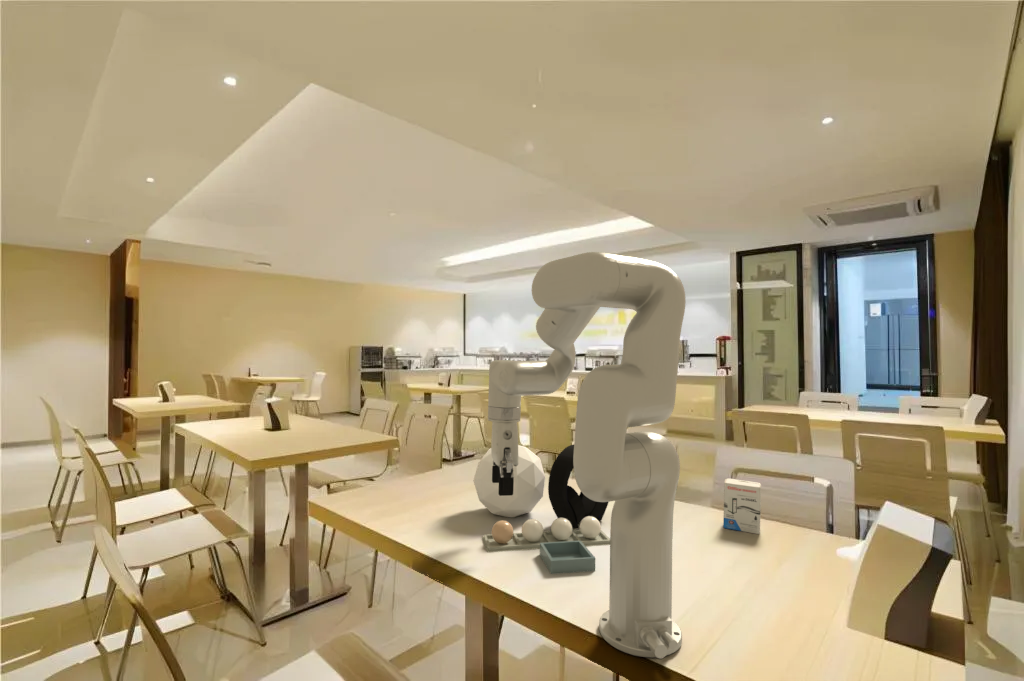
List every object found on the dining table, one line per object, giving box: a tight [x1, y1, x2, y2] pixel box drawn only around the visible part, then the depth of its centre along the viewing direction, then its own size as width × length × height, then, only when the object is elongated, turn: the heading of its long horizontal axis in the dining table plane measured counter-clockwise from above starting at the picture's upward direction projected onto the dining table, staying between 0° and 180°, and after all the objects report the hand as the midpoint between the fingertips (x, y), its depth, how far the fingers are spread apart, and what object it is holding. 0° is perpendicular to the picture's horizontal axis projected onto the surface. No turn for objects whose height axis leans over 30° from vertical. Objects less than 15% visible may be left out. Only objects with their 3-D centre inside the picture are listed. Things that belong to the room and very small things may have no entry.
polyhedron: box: [473, 444, 546, 518], centre depth 134 cm, size 19×20×20 cm
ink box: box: [722, 477, 762, 535], centre depth 125 cm, size 9×5×12 cm, turn 62°
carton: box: [481, 529, 610, 553], centre depth 114 cm, size 9×29×1 cm, turn 101°
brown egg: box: [491, 520, 514, 544], centre depth 112 cm, size 5×5×5 cm
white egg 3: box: [579, 516, 602, 539], centre depth 116 cm, size 5×5×5 cm
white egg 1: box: [521, 518, 544, 542], centre depth 113 cm, size 5×5×5 cm
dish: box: [539, 541, 596, 575], centre depth 102 cm, size 9×9×3 cm
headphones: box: [547, 444, 610, 529], centre depth 127 cm, size 19×7×20 cm, turn 129°
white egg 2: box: [550, 518, 573, 540], centre depth 114 cm, size 5×5×5 cm
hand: (502, 488), depth 112 cm, fingers open, 9 cm apart
